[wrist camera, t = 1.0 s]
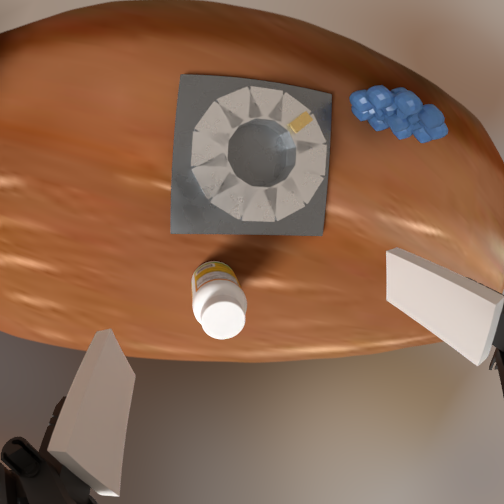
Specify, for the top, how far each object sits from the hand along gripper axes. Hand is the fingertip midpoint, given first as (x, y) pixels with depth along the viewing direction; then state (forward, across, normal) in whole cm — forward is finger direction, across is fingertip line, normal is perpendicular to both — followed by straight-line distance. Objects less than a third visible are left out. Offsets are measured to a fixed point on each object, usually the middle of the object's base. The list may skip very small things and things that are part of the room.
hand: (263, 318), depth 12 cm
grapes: (+21, +23, +11) cm, 33 cm away
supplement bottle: (+21, -2, -6) cm, 22 cm away
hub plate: (+21, +6, +7) cm, 23 cm away
